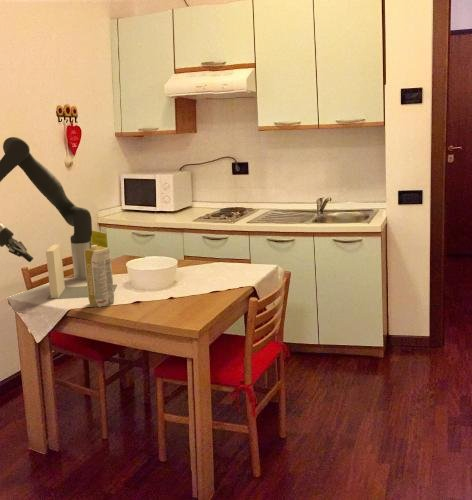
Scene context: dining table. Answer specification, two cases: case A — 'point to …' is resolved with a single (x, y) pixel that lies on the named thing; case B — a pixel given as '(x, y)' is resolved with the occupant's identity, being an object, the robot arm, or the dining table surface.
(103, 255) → the juice carton
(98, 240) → the food package
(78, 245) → the robot arm
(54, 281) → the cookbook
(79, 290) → the mat
